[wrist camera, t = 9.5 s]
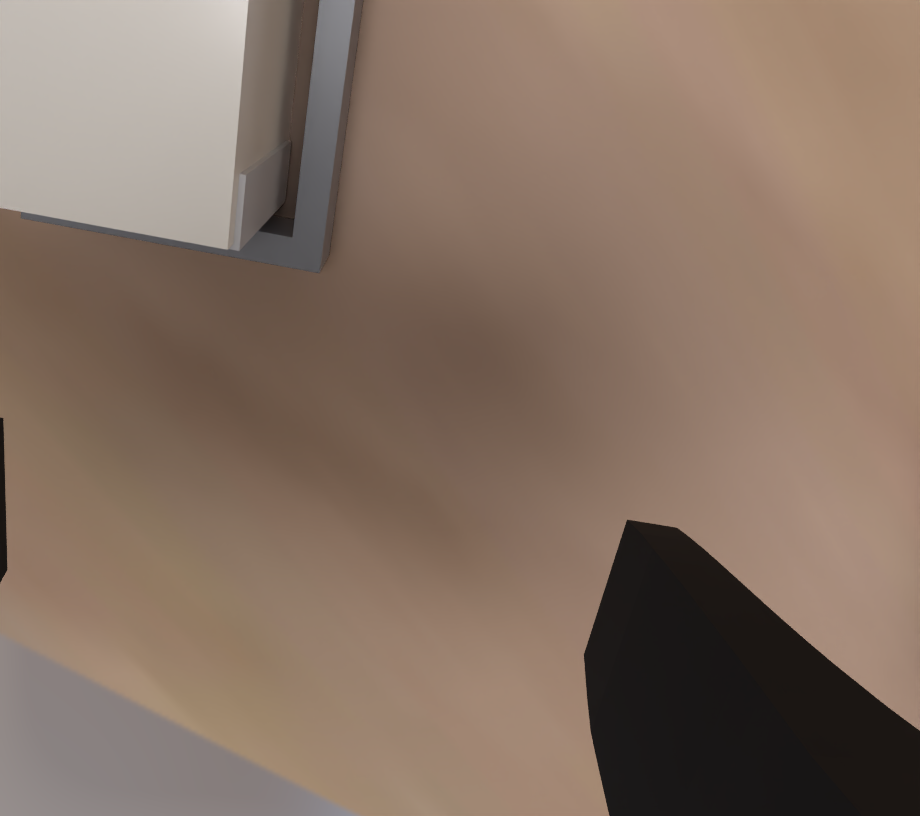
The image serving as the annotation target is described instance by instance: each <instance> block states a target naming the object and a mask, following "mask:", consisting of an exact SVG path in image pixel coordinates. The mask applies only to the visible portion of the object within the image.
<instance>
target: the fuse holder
mask: <svg viewBox="0 0 920 816" xmlns="http://www.w3.org/2000/svg"><path fill="white" fill-rule="evenodd" d="M362 6H363V0H320V2H319V11H318V20H317V28H316V37H315V46H314V54H313V63H312V72H311V81H310V89H309V98H308V107H307V115H306V124H305V133H304V141H303V150H302V159H301V168H300V176H299V185H298V194H297V202H296V211H295V220H294V219H289V218H284V217H278V216H273V215H272V216H271V217H270V218H269V220H268V221H267V222H266V223H265V224H264V225H263V226H262V227H261V228H260V229H259V230H258V231H257V232H256V234H255V235H254V236H253V237H252V238H251V239H250V240H249V241H248V242H247V243H246V244H245V245H244V246H243V248H242V249H241V250H240V251H236V250H231V249H228V250H226V249H221V248H215V247H210V246H204V245H199V244H194V243H188V242H183V241H177V240H172V239H166V238H161V237H156V236H150V235H145V234H139V233H134V232H128V231H123V230H118V229H112V228H107V227H101V226H96V225H90V224H85V223H80V222H74V221H69V220H63V219H58V218H52V217H47V216H42V215H36V214H31V213H25V212H21V218H22V219H28V220H33V221H39V222H44V223H49V224H55V225H60V226H66V227H71V228H77V229H82V230H88V231H93V232H98V233H104V234H109V235H115V236H120V237H126V238H131V239H136V240H142V241H147V242H153V243H158V244H164V245H169V246H174V247H180V248H185V249H191V250H196V251H202V252H207V253H212V254H218V255H223V256H229V257H234V258H240V259H245V260H250V261H256V262H261V263H267V264H272V265H278V266H283V267H288V268H294V269H299V270H305V271H310V272H316V273H320V271H321V269H322V268H323V266H324V264H325V262H326V260H327V258H328V256H329V253H330V245H331V238H332V230H333V223H334V215H335V208H336V201H337V193H338V186H339V178H340V171H341V163H342V156H343V148H344V141H345V133H346V126H347V118H348V111H349V103H350V96H351V88H352V81H353V73H354V66H355V59H356V51H357V44H358V36H359V29H360V21H361V14H362Z"/></svg>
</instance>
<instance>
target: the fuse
mask: <svg viewBox="0 0 920 816" xmlns="http://www.w3.org/2000/svg"><path fill="white" fill-rule="evenodd" d="M303 8H304V0H0V208H4V209H9V210H15V211H20V212H25V213H31V214H36V215H42V216H47V217H52V218H58V219H63V220H69V221H74V222H80V223H85V224H90V225H96V226H101V227H107V228H112V229H118V230H123V231H128V232H134V233H139V234H145V235H150V236H156V237H161V238H166V239H172V240H177V241H183V242H188V243H194V244H199V245H204V246H210V247H215V248H221V249H226V250H228V249H231V250H236V251H240V250H241V249H242V248H243V246H244V245H245V244H246V243H247V242H248V241H249V240H250V239H251V238H252V237H253V236H254V235H255V234H256V232H257V231H258V230H259V229H260V228H261V227H262V226H263V225H264V224H265V223H266V222H267V221H268V220H269V218H270V217H271V216H272V215H273V214H274V213H275V212H276V211H277V210H278V209H279V208H280V207H281V206H282V204H283V203H284V202H285V198H286V189H287V180H288V171H289V162H290V152H291V143H292V141H289V137H290V128H291V119H292V109H293V100H294V91H295V82H296V73H297V63H298V54H299V45H300V36H301V26H302V17H303Z"/></svg>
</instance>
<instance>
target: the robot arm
mask: <svg viewBox="0 0 920 816" xmlns="http://www.w3.org/2000/svg"><path fill="white" fill-rule="evenodd" d="M6 571H7V539H6V502H5V465H4V428H3V418H0V582H1V580H2V578H3V577H4V575H5V573H6ZM584 661H585V674H586V687H587V699H588V709H589V719H590V728H591V735H592V739H593V744H594V749H595V754H596V758H597V762H598V767H599V771H600V776H601V780H602V785H603V789H604V794H605V798H606V802H607V807H608V811H609V815H610V816H920V731H919V730H918V729H916V728H915V727H914V726H912V725H911V724H910V723H908V722H907V721H906V720H904V719H903V718H902V717H900V716H899V715H898V714H896V713H895V712H894V711H892V710H891V709H890V708H888V707H887V706H886V705H884V704H883V703H882V702H880V701H879V700H878V699H877V698H875V697H874V696H873V695H872V694H871V693H869V692H868V691H867V690H866V689H864V688H863V687H862V686H861V685H859V684H858V683H857V682H856V681H854V680H853V679H852V678H851V677H849V676H848V675H847V674H846V673H844V672H843V671H842V670H841V669H839V668H838V667H837V666H836V665H834V664H833V663H832V662H831V661H830V660H828V659H827V658H826V657H825V656H824V655H823V654H821V653H820V652H819V651H818V650H817V649H816V648H814V647H813V646H812V645H811V644H810V643H808V642H807V641H806V640H805V639H804V638H803V637H801V636H800V635H799V634H798V633H797V632H796V631H795V630H793V629H792V628H791V627H790V626H789V625H788V624H787V623H786V622H784V621H783V620H782V619H781V618H780V617H779V616H778V615H777V614H775V613H774V612H773V611H772V610H771V609H770V608H769V607H768V606H766V605H765V604H764V603H763V602H762V601H761V600H760V599H759V598H758V597H756V596H755V595H754V594H753V593H752V592H751V591H750V590H749V589H748V588H747V587H745V586H744V585H743V584H742V583H741V582H740V581H739V580H738V579H737V578H736V577H734V576H733V575H732V574H731V573H730V572H729V571H728V570H727V569H726V568H724V567H723V566H722V565H721V564H720V563H719V562H718V561H717V560H716V559H714V558H713V557H712V556H711V555H710V554H709V553H708V552H706V551H705V550H704V549H703V548H702V547H701V546H699V545H698V544H697V543H696V542H695V541H693V540H692V539H691V538H690V537H688V536H687V535H686V534H684V533H683V532H682V531H680V530H679V529H678V528H675V527H669V526H662V525H656V524H650V523H644V522H638V521H632V520H627V522H626V525H625V528H624V531H623V534H622V538H621V541H620V544H619V547H618V550H617V553H616V556H615V559H614V563H613V566H612V569H611V572H610V575H609V578H608V581H607V584H606V588H605V591H604V594H603V597H602V600H601V603H600V606H599V609H598V613H597V616H596V619H595V622H594V625H593V628H592V631H591V634H590V638H589V641H588V644H587V647H586V650H585V653H584Z"/></svg>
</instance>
